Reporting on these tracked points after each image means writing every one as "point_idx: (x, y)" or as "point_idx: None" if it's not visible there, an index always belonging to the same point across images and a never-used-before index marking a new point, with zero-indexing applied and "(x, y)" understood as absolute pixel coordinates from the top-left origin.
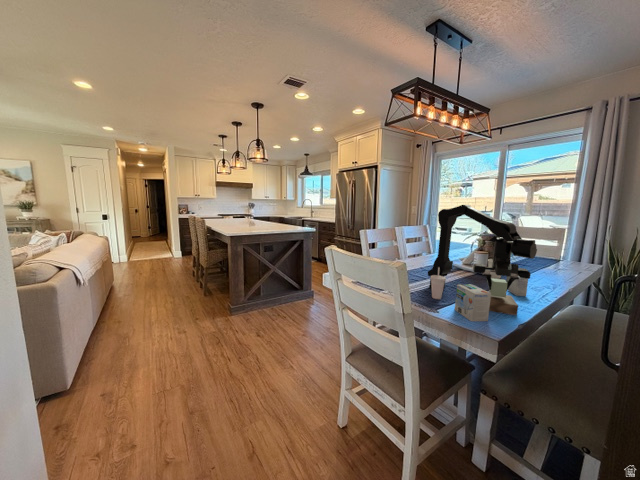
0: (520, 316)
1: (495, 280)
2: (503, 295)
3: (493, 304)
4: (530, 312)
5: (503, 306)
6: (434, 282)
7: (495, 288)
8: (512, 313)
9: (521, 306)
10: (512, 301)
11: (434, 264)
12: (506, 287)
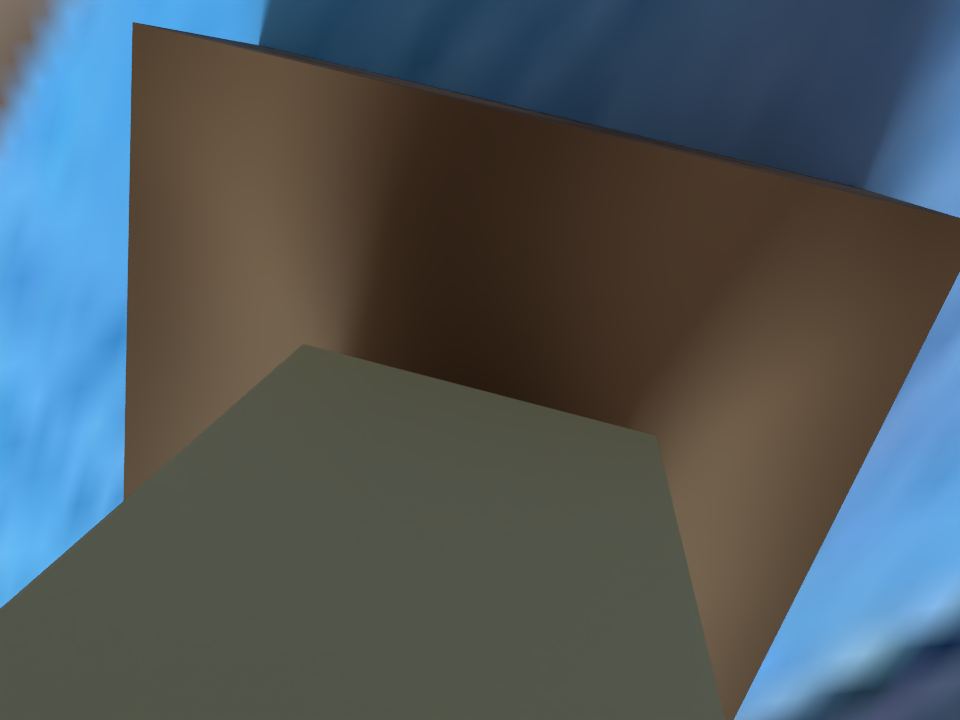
0: (206, 20)
1: None
2: (343, 375)
3: (669, 147)
4: (5, 277)
5: (458, 96)
6: None
7: (562, 552)
8: (317, 60)
9: (74, 499)
10: (184, 318)
11: None
12: (128, 521)
